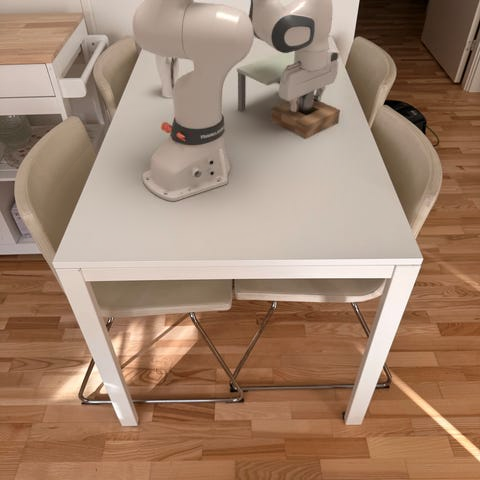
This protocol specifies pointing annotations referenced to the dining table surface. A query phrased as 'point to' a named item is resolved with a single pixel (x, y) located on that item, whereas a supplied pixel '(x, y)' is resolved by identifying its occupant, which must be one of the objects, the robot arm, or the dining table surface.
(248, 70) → the pale green platform
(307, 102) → the peg
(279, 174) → the dining table surface
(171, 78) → the cream rounded piece
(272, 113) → the socket plate
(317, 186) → the dining table surface
